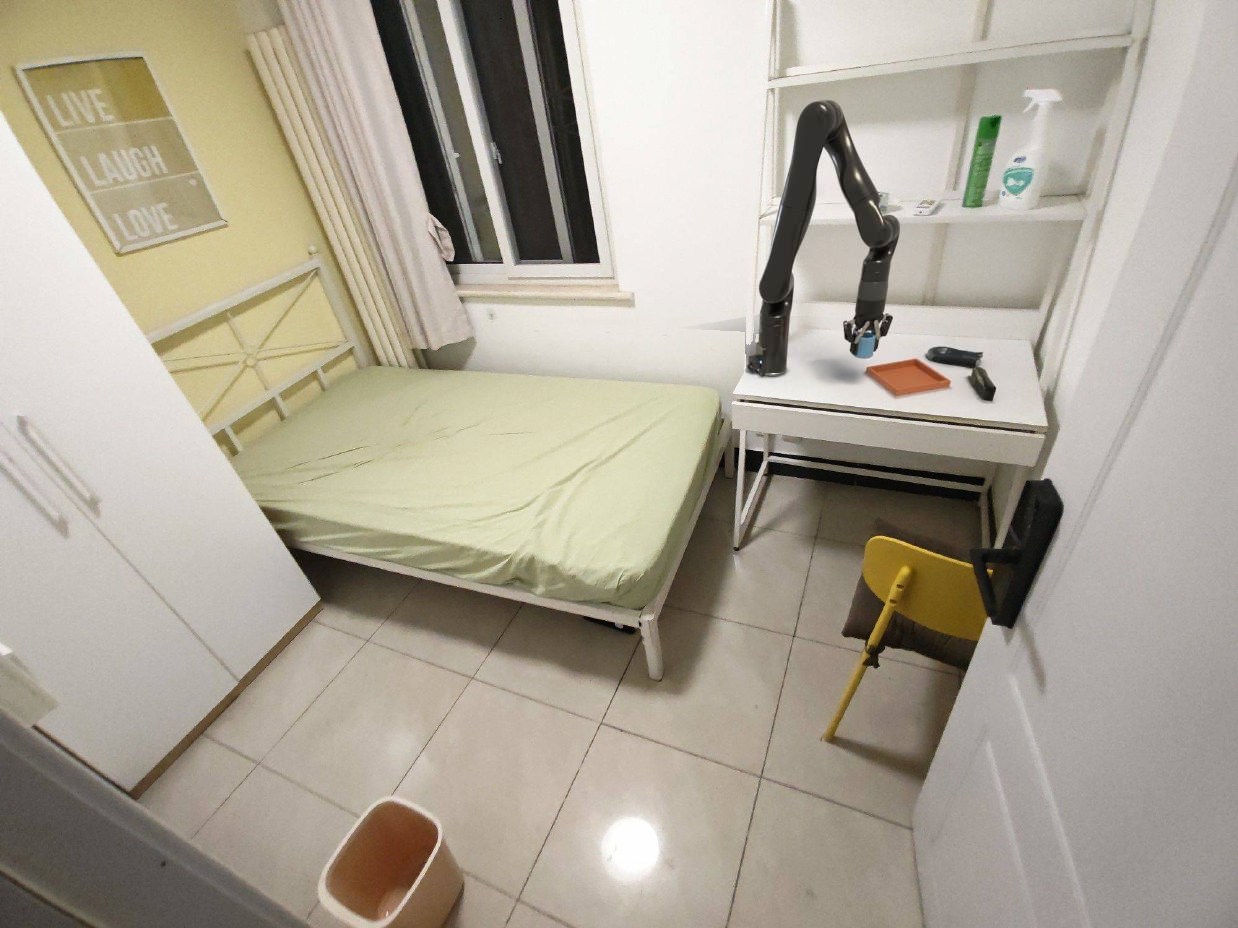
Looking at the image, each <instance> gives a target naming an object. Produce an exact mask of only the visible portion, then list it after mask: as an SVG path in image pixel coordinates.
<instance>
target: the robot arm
mask: <svg viewBox="0 0 1238 928" xmlns="http://www.w3.org/2000/svg"><path fill="white" fill-rule="evenodd" d="M823 150H825V152H826V153H827V154H828V156H829V158H830V160H831V163H832V164H833V167H834V170H835V174H836V178H837V183H838V185H839V188H840V192H841V193H842V196H843V198H844V199H845V202H846V203H847V205H848V207H849V209H850V210H851V212H852V213H853V216H854V220H855V224H856V227H857V232H858V234H859V237H860V239H861V241H862V242H863V244H864V245H865V246H866V247H868V248H869V250H868V253H867V254H866V256H865V257H864V259H863V261H862V264H861V271H860V278H859V283H858V285H857V292H856V301H855V307H854V312H855V314H854V317H852V319H850V320H844V321H843V322H842V326H843V338H844V340H845V341H847V342H848V343H849V352H850V353H851V354H852V355H853V356H854V355H857V351H858V344H859V343H858V341H859V339H860V337H861V336H863V334H864V332H870V333H874V334H875V335H876V338H875V345H874V351H873V353H874V352H875V353H876V352H877V350H878V348H879V345H880V339H881V338H885V337H887V336H888V333H889V330H890V327H891V324H892V323H893V319H894V316H893V315H891V314H890V313H885V314H884V312H885V308H886V302H887V297H888V291H889V279H890V272H891V265H892V260H893V258H894V255H895V252H896V249H897V247H898V242H899V239H900V234H901V224H900V221H899V219H898V218H897V217H896V216H895V215H893V214H882V210H881V208H880V204H881V201H882V199H881V195H880V193H879V191H878V189H877V187H876V186H875V184H874V182H873V180H872V179H871V177H870V175H869V173H868V171H867V169H866V167H865V165H864V163H863V161H862V159H861V157H860V155H859V153H858V151H857V148H856V146H855V143H854V140H853V138H852V136H851V133H850V129H849V127H848V124H847V120H846V117H845V114H844V111H843V109H842V107H841V105H840V104H839V103H838V102H836V101H835V100H831V99H821V100H815V101H812V102H810V103H809V104H807V105H806V106H805V107H804V108H803V109H802V110H801V113H800V114H799V116H798V119H797V123H796V128H795V134H794V140H793V148H792V154H791V159H790V164H789V168H788V172H787V176H786V179H785V184H784V186H783V191H782V194H781V198H780V201H779V206H778V209H777V214H776V219H775V223H774V228H773V234H772V238H771V245H770V250H769V254H768V258H767V261H766V264H765V266H764V270H763V272H762V275H761V278H760V280H759V283H758V293H759V296H760V298H761V299H762V301H761V308H760V310H759V318H758V319H759V321H758V341H757V342H756V343H755V354H753V355H748V361H747V362H748V363H747V365H746V368H747V370H748V371H750V372H754V371H756V372H757V373H758V374H759V375H760V377H779V376H782V375H784V374H786V372H787V367H788V364H787V363H788V351H789V350H788V349H789V339H790V338H789V337H790V324H791V314H792V309H793V302H794V301H793V300H794V293H795V292H794V291H795V276H794V273H793V270H794V269H793V268H794V264H795V260H796V257H797V255H798V253H799V250H800V249H801V248H800V247H801V245H802V244H803V241H804V240H805V237H806V235H807V232H808V229H809V227H810V224H811V221H812V217H813V213H814V209H815V206H816V202H817V194H818V193H817V191H818V190H817V185H818V184H817V181H818V180H817V177H818V175H817V174H818V166H819V164H820V160H821V156H822V153H823Z"/></svg>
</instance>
